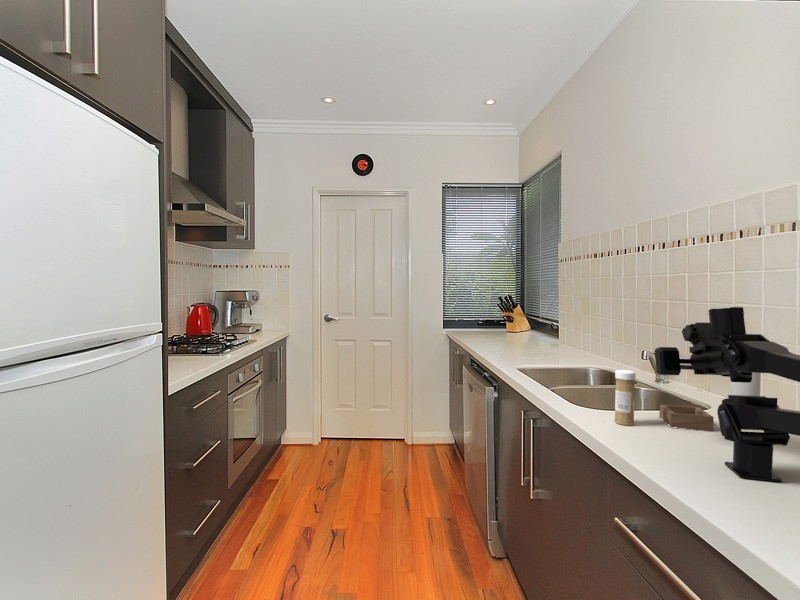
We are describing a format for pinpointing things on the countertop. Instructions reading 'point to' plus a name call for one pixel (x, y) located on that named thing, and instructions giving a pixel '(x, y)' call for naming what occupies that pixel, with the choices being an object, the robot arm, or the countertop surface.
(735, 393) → the travel mug
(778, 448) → the countertop surface
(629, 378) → the sprinkles bottle
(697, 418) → the walnut collar
